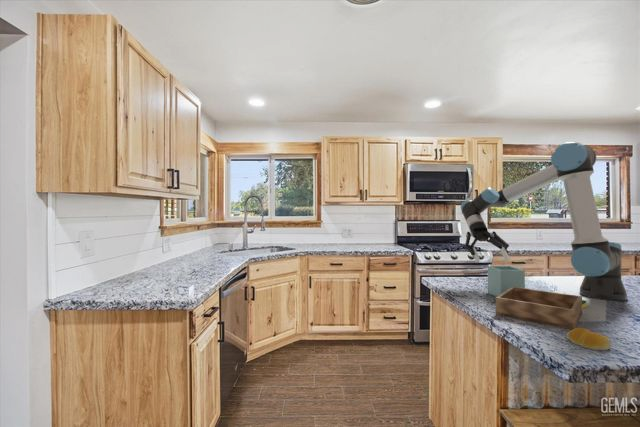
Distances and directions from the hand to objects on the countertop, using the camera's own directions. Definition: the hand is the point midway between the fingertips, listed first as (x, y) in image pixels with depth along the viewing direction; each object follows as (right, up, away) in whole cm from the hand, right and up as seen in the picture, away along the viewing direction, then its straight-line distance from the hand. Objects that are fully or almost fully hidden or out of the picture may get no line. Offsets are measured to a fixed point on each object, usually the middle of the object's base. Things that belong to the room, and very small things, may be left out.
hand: (492, 260), depth 147 cm
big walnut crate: (-1, -14, -33) cm, 35 cm away
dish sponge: (+16, -15, -20) cm, 30 cm away
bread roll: (-5, -15, -58) cm, 60 cm away
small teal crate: (0, -14, -9) cm, 17 cm away
